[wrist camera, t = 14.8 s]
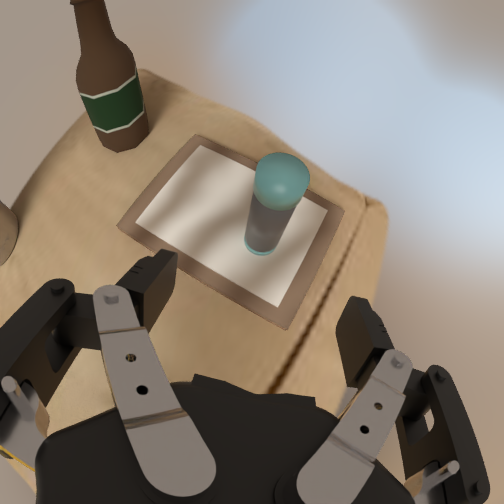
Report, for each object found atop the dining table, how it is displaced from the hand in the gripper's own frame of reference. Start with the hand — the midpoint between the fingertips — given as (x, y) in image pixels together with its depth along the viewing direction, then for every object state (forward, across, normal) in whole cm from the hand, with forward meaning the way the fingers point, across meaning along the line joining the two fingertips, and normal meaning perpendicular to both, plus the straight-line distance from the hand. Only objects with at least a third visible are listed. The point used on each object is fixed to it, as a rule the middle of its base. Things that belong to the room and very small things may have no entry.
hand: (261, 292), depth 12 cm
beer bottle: (+27, +22, -3) cm, 35 cm away
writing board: (+20, +4, +4) cm, 21 cm away
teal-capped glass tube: (+17, 0, +4) cm, 18 cm away
